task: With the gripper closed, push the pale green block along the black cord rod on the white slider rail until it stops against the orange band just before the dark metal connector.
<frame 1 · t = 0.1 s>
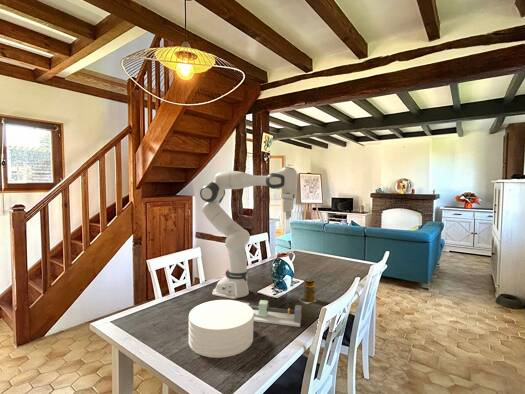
hand: (288, 218, 166), 48 cm above the table, fingers open, 8 cm apart
condiment: (307, 300, 166), on the table
plate stack: (221, 338, 125), on the table
white slider rail: (270, 318, 143), on the table
pale green block: (263, 308, 144), point 5 cm above the table, slide at 0.0 cm
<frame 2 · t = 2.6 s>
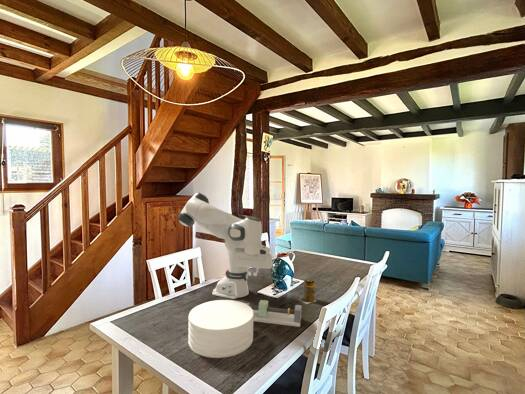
hand: (252, 275, 144), 21 cm above the table, fingers closed
nothing on the table moved.
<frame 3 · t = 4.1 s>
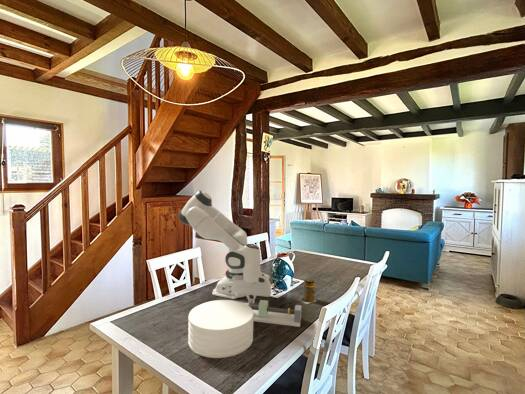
hand: (251, 302, 145), 7 cm above the table, fingers closed
nothing on the table moved.
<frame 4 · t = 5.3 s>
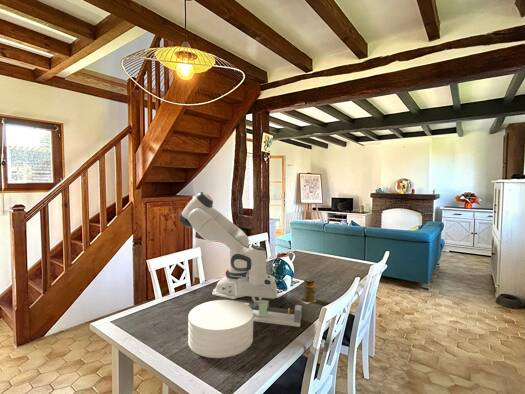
hand: (257, 304, 144), 6 cm above the table, fingers closed
pale green block: (263, 308, 144), point 5 cm above the table, slide at 0.2 cm, touching gripper
everything else where it was.
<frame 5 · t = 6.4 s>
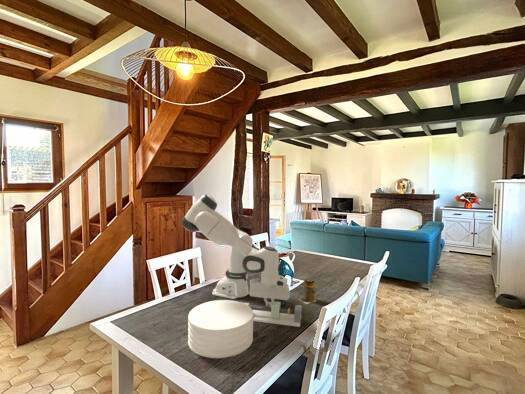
hand: (269, 306, 143), 6 cm above the table, fingers closed
pale green block: (275, 309, 142), point 5 cm above the table, slide at 6.4 cm, touching gripper
everything else where it was.
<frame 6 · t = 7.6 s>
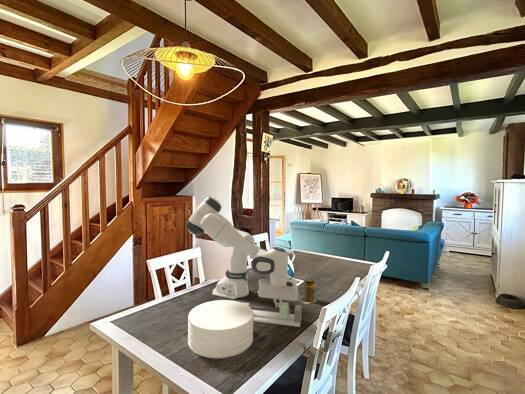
hand: (277, 307, 142), 6 cm above the table, fingers closed
pale green block: (284, 310, 142), point 5 cm above the table, slide at 10.6 cm, touching white slider rail, gripper
everything else where it was.
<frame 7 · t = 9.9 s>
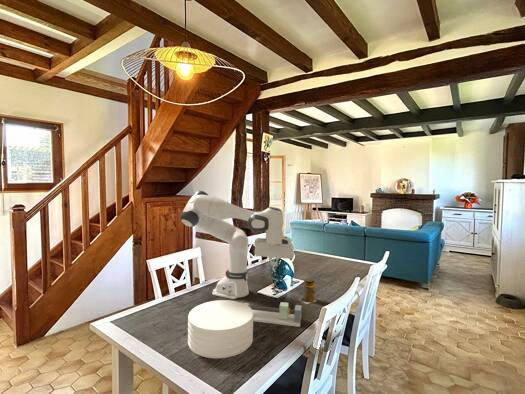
hand: (273, 265, 146), 26 cm above the table, fingers closed
pale green block: (283, 310, 142), point 5 cm above the table, slide at 10.5 cm
everything else where it was.
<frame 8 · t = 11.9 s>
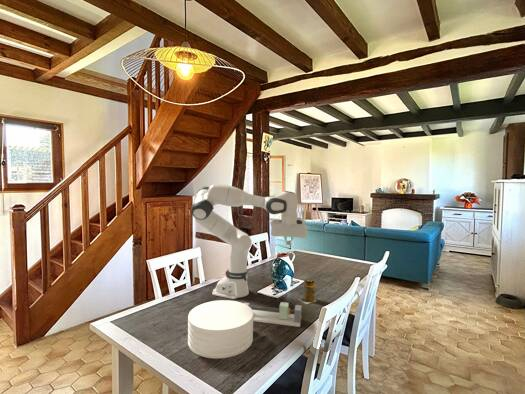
hand: (288, 244, 159), 34 cm above the table, fingers closed
nothing on the table moved.
at the end: pale green block slide at 10.5 cm; pale green block touching nothing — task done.
